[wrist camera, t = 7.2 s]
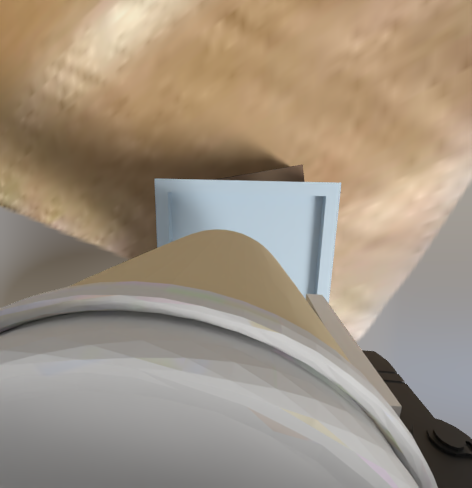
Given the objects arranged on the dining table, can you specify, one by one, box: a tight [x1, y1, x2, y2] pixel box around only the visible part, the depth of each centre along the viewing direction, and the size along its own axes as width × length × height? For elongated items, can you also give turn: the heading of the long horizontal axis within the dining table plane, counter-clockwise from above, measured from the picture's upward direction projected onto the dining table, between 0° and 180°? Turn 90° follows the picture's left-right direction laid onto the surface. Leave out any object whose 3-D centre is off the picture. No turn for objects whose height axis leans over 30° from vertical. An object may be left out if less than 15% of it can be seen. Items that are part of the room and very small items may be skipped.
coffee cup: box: [0, 229, 438, 488], centre depth 9 cm, size 9×9×12 cm
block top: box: [155, 179, 341, 304], centre depth 23 cm, size 14×14×5 cm
